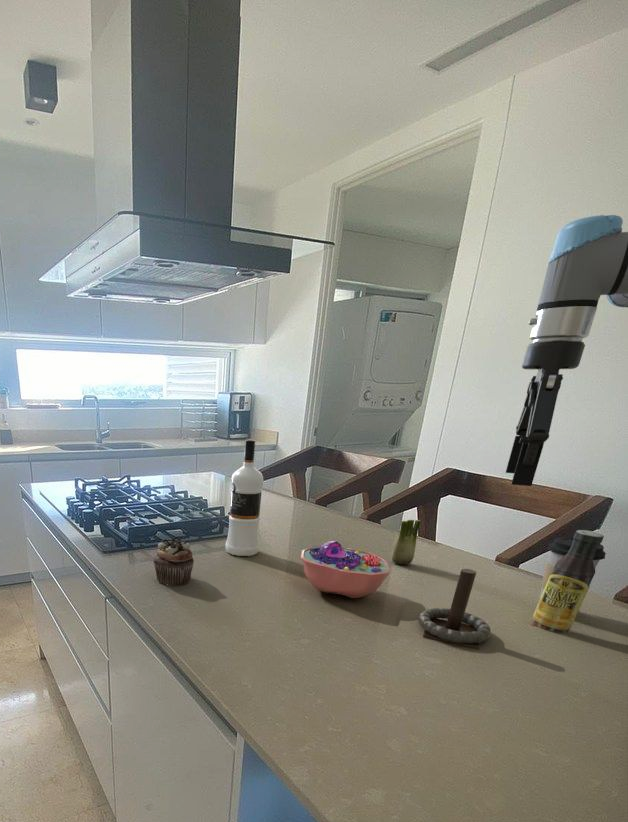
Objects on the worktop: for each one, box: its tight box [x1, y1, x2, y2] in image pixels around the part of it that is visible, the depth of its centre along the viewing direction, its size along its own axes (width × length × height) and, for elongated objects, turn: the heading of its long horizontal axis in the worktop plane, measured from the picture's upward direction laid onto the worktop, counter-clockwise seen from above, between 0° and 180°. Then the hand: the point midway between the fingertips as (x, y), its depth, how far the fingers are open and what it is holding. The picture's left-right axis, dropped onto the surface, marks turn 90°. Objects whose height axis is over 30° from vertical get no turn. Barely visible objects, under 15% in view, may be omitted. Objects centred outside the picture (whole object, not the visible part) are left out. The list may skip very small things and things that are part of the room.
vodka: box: [225, 439, 264, 557], centre depth 129 cm, size 9×9×30 cm
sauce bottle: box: [530, 529, 605, 634], centre depth 91 cm, size 7×6×20 cm
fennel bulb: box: [391, 519, 422, 566], centre depth 127 cm, size 6×5×12 cm
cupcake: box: [152, 537, 195, 586], centre depth 114 cm, size 10×10×10 cm
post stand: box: [422, 568, 480, 651], centre depth 89 cm, size 9×9×14 cm
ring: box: [417, 607, 492, 644], centre depth 91 cm, size 12×12×2 cm
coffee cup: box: [538, 536, 607, 602], centre depth 101 cm, size 9×9×15 cm
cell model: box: [300, 540, 392, 599], centre depth 108 cm, size 17×20×11 cm
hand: (517, 478), depth 85 cm, fingers open, 13 cm apart
